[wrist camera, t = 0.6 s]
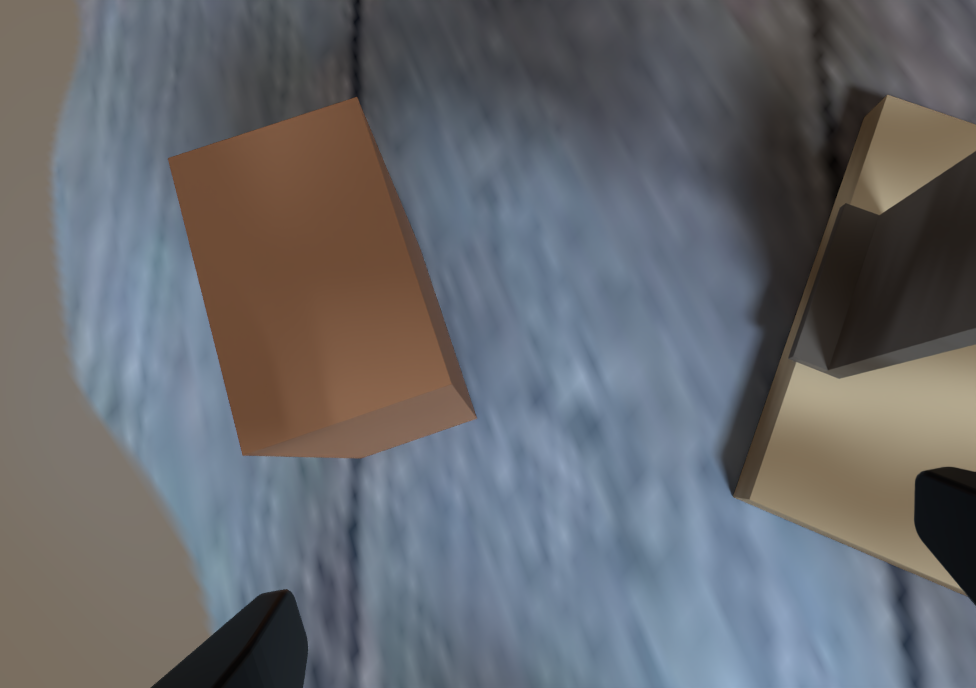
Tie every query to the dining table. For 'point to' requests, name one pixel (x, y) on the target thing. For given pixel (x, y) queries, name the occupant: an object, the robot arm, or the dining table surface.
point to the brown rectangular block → (317, 291)
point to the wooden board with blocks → (879, 345)
